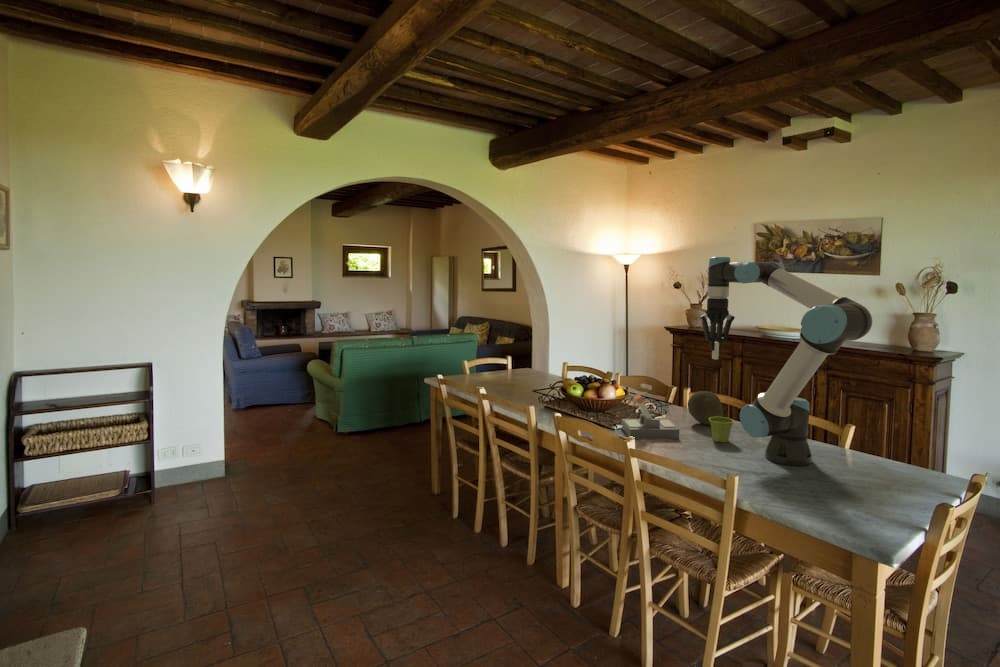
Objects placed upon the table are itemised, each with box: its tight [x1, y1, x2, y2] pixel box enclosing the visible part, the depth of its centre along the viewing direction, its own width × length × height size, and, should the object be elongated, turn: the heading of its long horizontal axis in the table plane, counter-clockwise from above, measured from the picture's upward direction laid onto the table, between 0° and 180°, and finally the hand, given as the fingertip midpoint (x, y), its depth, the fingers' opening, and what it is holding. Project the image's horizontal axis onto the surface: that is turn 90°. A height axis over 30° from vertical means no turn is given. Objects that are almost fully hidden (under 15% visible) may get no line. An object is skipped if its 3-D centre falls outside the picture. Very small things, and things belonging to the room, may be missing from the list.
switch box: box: [621, 413, 681, 440], centre depth 236 cm, size 16×20×7 cm
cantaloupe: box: [687, 390, 723, 426], centre depth 249 cm, size 14×14×15 cm
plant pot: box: [709, 416, 735, 443], centre depth 226 cm, size 9×9×9 cm
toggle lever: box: [632, 393, 652, 419], centre depth 235 cm, size 5×3×13 cm, turn 0°
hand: (715, 358), depth 217 cm, fingers closed
